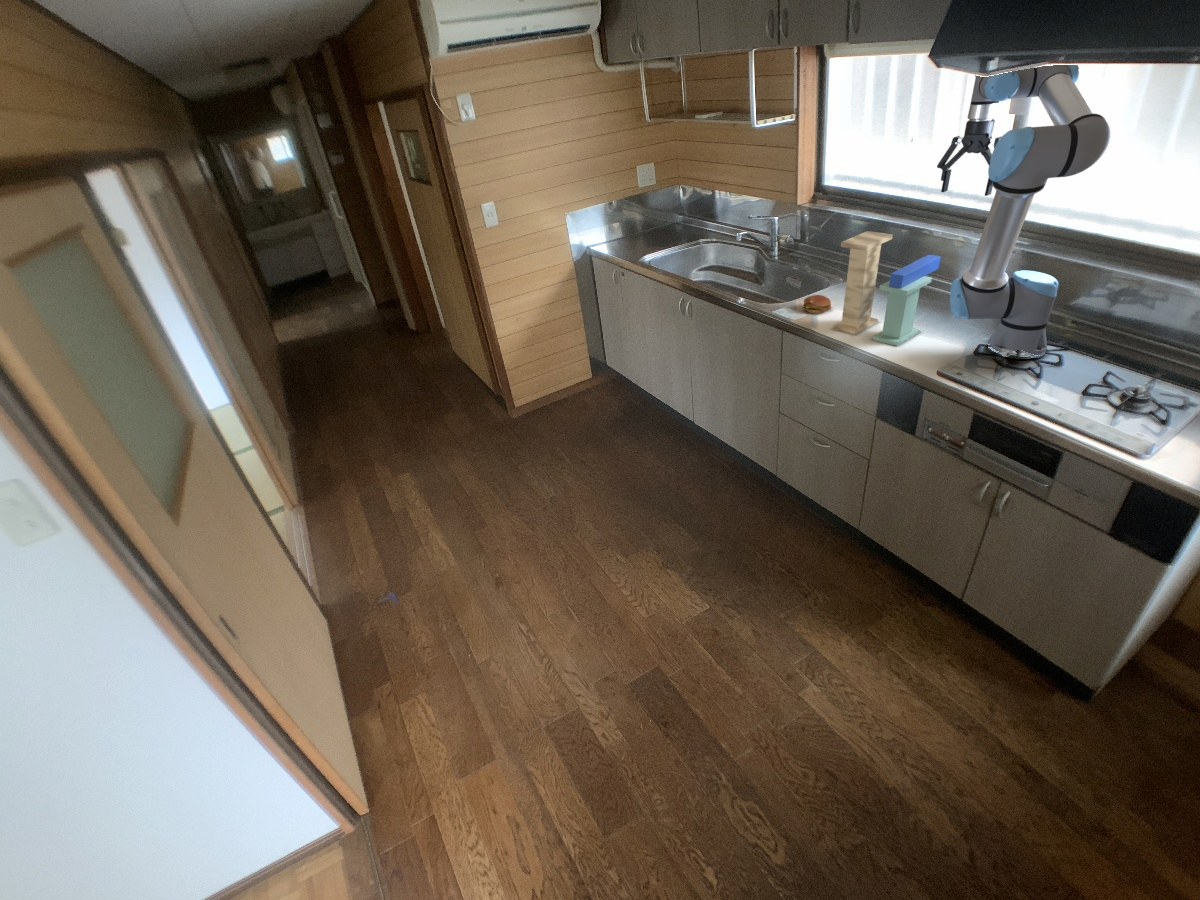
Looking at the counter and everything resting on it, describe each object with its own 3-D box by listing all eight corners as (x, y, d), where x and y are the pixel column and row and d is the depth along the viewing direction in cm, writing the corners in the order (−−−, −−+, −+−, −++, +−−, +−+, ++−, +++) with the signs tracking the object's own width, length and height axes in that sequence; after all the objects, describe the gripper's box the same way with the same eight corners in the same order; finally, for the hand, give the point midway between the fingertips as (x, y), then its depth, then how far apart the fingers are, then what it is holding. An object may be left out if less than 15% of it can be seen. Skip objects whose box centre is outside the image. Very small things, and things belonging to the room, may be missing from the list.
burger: (832, 306, 230) (834, 294, 227) (827, 315, 223) (828, 302, 221) (806, 304, 234) (807, 292, 232) (799, 312, 228) (800, 300, 225)
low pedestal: (895, 325, 209) (904, 272, 199) (921, 332, 203) (932, 277, 193) (871, 340, 202) (879, 285, 192) (897, 346, 196) (907, 291, 186)
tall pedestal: (855, 316, 220) (867, 231, 203) (879, 321, 214) (892, 234, 197) (831, 329, 212) (841, 242, 196) (854, 335, 206) (866, 246, 190)
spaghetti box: (926, 266, 202) (928, 254, 200) (938, 268, 199) (941, 256, 197) (888, 286, 191) (890, 273, 189) (901, 288, 188) (903, 275, 186)
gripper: (1031, 117, 179) (1012, 193, 191) (945, 117, 196) (932, 187, 208) (1020, 121, 175) (1001, 198, 187) (933, 121, 192) (921, 192, 204)
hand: (965, 193), depth 197 cm, fingers open, 13 cm apart
